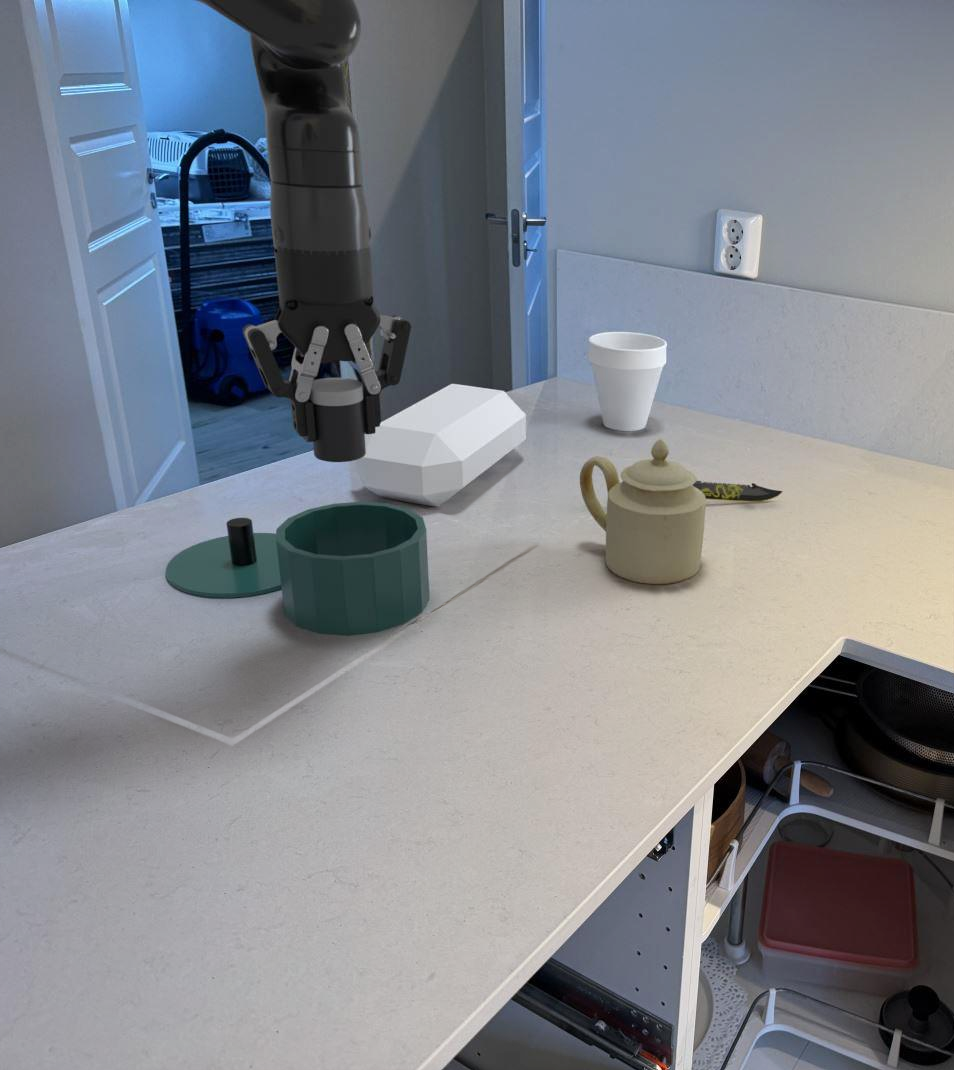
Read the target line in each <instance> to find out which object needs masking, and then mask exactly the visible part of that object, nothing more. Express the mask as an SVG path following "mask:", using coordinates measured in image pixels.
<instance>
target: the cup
mask: <svg viewBox="0 0 954 1070" xmlns="http://www.w3.org/2000/svg"><path fill="white" fill-rule="evenodd" d="M588 342H589V344H588V346H589V347H588V353H587V354H588V355H587V359H588V360H589V362H590V365H591V369H592V374H593V379H594V384H595V388H596V389H595V390H596V394H597V399H598V403H599V408H600V414H601V419H602V423H603V426H604V427H606V428H608V429H610V430H614V431H617V432H618V431H620V432H637V431H641V430H643V429H645V428H646V426H647V425H648V424H647V423H648V420H649V417H650V413H651V410H652V406H653V403H654V400H655V396H656V392H657V389H658V386H659V382H660V379H661V376H662V372H663V369H664V367H665V365H666V364H667V347H668V342H667V341H666V340H665V339H663V338H661V337H659V336H656V335H652V334H647V333H641V332H633V331H610V332H609V331H607V332H606V331H605V332H599V333H596V334H593V335H591V336H590V337H589V338H588Z"/></svg>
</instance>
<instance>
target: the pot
mask: <svg viewBox="0 0 954 1070" xmlns="http://www.w3.org/2000/svg"><path fill="white" fill-rule="evenodd" d="M275 531H276V532H275V534H276V544H277V553H278V562H279V570H280V579H281V588H282V589H281V596H282V605H283V613H284V617H286V618H287V619H288V620H289V621H290V622H292V623H293V625H294V626H296V627H297V628H300V629H304V630H307V631H309V632H312V633H315V634H319V635H329V636H343V637H344V636H346V637H349V636H356V635H358V636H359V635H366V634H375V633H380V632H383V631H387V630H390V629H393V628H396V627H399V626H402V625H404V624H406V623H408V622H410V621H411V620H412V619H414V618H416V617H417V616H419V615H420V614H422V613H423V612H424V610H425V608H426V607H427V605H428V603H429V602H430V600H431V599H430V581H429V580H430V579H429V559H428V558H429V557H428V535H427V527H426V523H425V520H424V518H423V516H421V515H420V514H418V513H417V512H415V511H413V510H412V509H410V508H406V507H403V506H399V505H395V504H392V503H386V502H371V501H353V502H351V501H350V502H336V503H331V504H325V505H321V506H318V507H317V506H316V507H312V508H309V509H306V510H304V511H301V512H299V513H296V514H294V515H292V516H290V517H288V518H287V519H285V520H284V521H283V523H281V524H280V525H279V526H278V527H277V528H276V530H275ZM418 620H419V618H416V620H414V621H413V622H411V623H410V624H408V625H406V626H405V628H406V627H408V626H410V625H412V624H414V623H415V622H417V621H418Z"/></svg>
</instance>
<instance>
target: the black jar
mask: <svg viewBox="0 0 954 1070" xmlns="http://www.w3.org/2000/svg"><path fill="white" fill-rule="evenodd" d="M309 399H310V400H311V401H312V402H313V407H314V418H315V429H316V441H314V442H312V446H313V455H314V457H315V458H316V459H317V460H320V461H323V462H328V463H347V462H352V461H353V462H354V461H355V460H357V459H360V458H362V457H364V456H365V454H366V447H365V434H366V433H365V432H364V417H363V402H362V400H363V385H362V383H361V382H359V381H357V379H354V378H346V377H326V378H325V377H324V378H318V379H314V381H313V385H312V389H311V393H310V397H309Z"/></svg>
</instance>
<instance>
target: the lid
mask: <svg viewBox="0 0 954 1070" xmlns="http://www.w3.org/2000/svg"><path fill="white" fill-rule="evenodd" d="M226 531H227V535H225V536H219V537H216V538H211V539H208V540H204V541H202V542H199V543H196V544H193V545H191V546H189V547H187V548H185V549H183V550H182V551H180V552H179V553H177V554H175V555H174V556H173V557H172V558H171V559H170V560H169V562H168V563H167V565H166V567H165V575H166V579H167V581H168V582H169V584H170V586H172V587H173V588H175V589H177V590H178V591H180V592H184V593H185V594H190V595H193V596H198V597H203V598H217V599H231V598H246V597H253V596H259V595H265V594H269V593H273V592H275V591H280V590H282V588H281V579H280V570H279V562H278V553H277V544H276V532H275V533H274V532H272V533H271V532H254V525H253V520H252V518H249V517H235V518H231V519H229V520H228V521H226Z"/></svg>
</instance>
